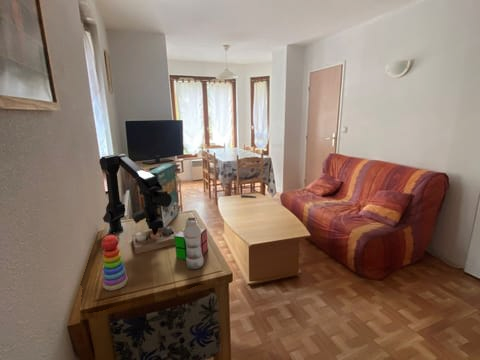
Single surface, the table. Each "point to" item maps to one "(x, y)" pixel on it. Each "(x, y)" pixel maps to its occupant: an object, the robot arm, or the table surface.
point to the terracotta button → (154, 236)
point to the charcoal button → (167, 230)
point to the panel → (153, 241)
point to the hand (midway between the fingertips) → (154, 234)
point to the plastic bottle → (193, 244)
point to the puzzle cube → (181, 244)
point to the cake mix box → (168, 183)
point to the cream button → (141, 236)
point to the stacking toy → (113, 265)
